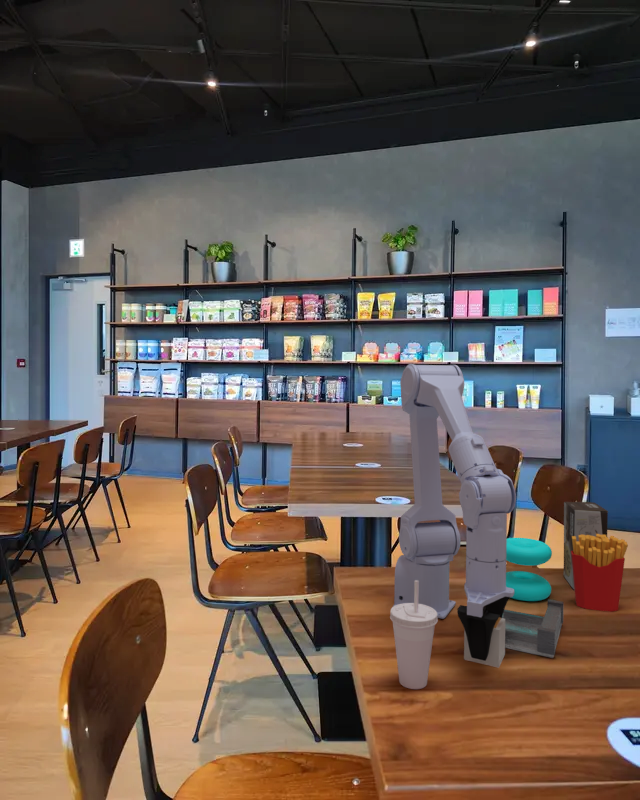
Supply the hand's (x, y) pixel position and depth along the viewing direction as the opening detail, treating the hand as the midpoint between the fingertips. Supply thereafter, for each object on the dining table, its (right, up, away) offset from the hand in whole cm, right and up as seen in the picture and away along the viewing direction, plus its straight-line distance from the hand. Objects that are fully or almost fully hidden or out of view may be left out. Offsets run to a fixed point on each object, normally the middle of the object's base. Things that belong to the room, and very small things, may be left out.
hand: (484, 647), depth 84 cm
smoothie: (-12, -2, -7) cm, 14 cm away
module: (0, -2, 0) cm, 2 cm away
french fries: (+27, -1, +20) cm, 33 cm away
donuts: (+15, -1, +26) cm, 30 cm away
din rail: (+8, -1, +8) cm, 12 cm away
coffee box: (+30, -1, +32) cm, 43 cm away
